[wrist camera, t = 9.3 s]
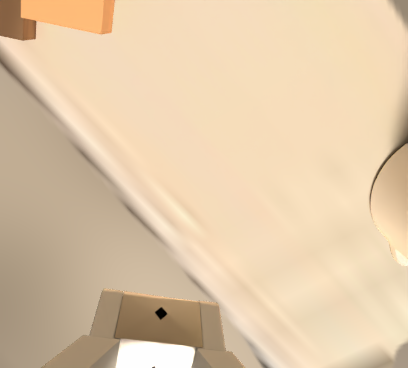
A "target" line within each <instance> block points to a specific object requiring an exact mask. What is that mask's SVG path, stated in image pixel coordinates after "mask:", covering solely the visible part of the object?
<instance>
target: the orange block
mask: <svg viewBox="0 0 408 368" xmlns="http://www.w3.org/2000/svg"><path fill="white" fill-rule="evenodd" d="M114 2H115V0H21V18H26V19H31V20H35V21H40V22H45V23H50V24H54V25H59V26H64V27H68V28H73V29H78V30H83V31H87V32H92V33H97V34H107V33H111V31H112V22H113V12H114Z"/></svg>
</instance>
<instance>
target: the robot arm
mask: <svg viewBox="0 0 408 368" xmlns="http://www.w3.org/2000/svg"><path fill="white" fill-rule="evenodd" d="M370 204H371V214H372V218H373V221H374V223H375V225H376V227H377V228H378V230H379V231H380V232H381V233H382V234H383V236H384V237H385V238H386V239H387V240H388V242H389V243H390V248H391V253H392V256H393V258H394V260H395V261H397V262H398V263H399V264H400V265H403V266H408V143H407V144H405V145H404V146H403V147H401V148H400V149H399V150H398V151H397V152H396V153H395V154H393V155H392V157H391V158H390V159H389V160H388V161H387V162H386V164H385V165H384V166H383V168H382V169H381V171H380V173H379V175H378V176H377V179H376V181H375V183H374V186H373V189H372V194H371V202H370ZM41 368H245V367H244V365H243V364H242V363H241V362H240V361H239V360H238V359H237V358H236V356H235V355H234V354H233V353H232V352H229V351H226V349H225V343H224V335H223V329H222V322H221V315H220V308H219V305H218V303H215V302H205V301H199V302H198V301H192V300H184V299H175V298H167V297H161V296H154V295H148V294H141V293H134V292H128V291H124V293H123V291H120V290H113V289H106V288H104V289H103V291H102V293H101V297H100V300H99V304H98V307H97V311H96V314H95V317H94V321H93V324H92V328H91V331H90V335H89V336H87V335H83V336H81V337H80V338H79V339H78V340H76V341H75V342H74V343H72V344H71V345H70V346H68V347H67V348H66V349H64V350H63V351H62V352H61V353H59V354H58V355H57V356H55V357H54V358H53V359H52V360H50V361H49V362H48V363H46V364H45V365H44V366H42V367H41Z"/></svg>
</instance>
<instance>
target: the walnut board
mask: <svg viewBox="0 0 408 368" xmlns="http://www.w3.org/2000/svg"><path fill="white" fill-rule="evenodd" d="M0 36H4V37H9V38H13V39H18V40H31V39H35V37H36V21H35V20H31V19H26V18H21V0H0Z"/></svg>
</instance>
